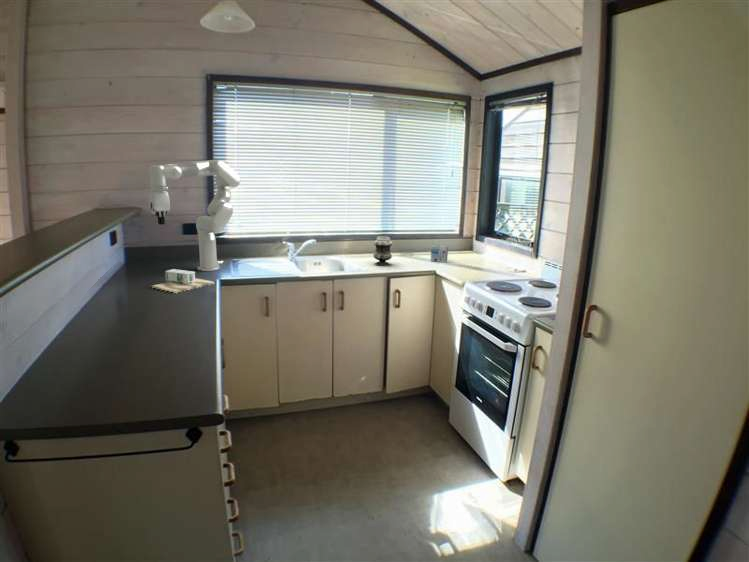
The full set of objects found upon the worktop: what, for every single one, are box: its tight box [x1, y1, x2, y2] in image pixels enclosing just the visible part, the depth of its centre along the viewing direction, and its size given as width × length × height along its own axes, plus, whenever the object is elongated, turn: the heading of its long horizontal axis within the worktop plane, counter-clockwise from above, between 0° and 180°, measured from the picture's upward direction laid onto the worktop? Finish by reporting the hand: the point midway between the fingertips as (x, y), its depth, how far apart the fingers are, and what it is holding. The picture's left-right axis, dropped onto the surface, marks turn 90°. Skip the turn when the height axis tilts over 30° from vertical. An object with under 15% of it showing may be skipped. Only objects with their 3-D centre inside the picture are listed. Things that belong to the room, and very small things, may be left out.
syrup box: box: [164, 268, 196, 284], centre depth 246 cm, size 6×6×14 cm
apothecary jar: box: [373, 235, 393, 267], centre depth 309 cm, size 12×12×18 cm
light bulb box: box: [430, 244, 449, 264], centre depth 325 cm, size 11×7×11 cm, turn 73°
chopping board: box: [150, 277, 215, 294], centre depth 243 cm, size 24×18×1 cm
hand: (161, 224), depth 254 cm, fingers closed
